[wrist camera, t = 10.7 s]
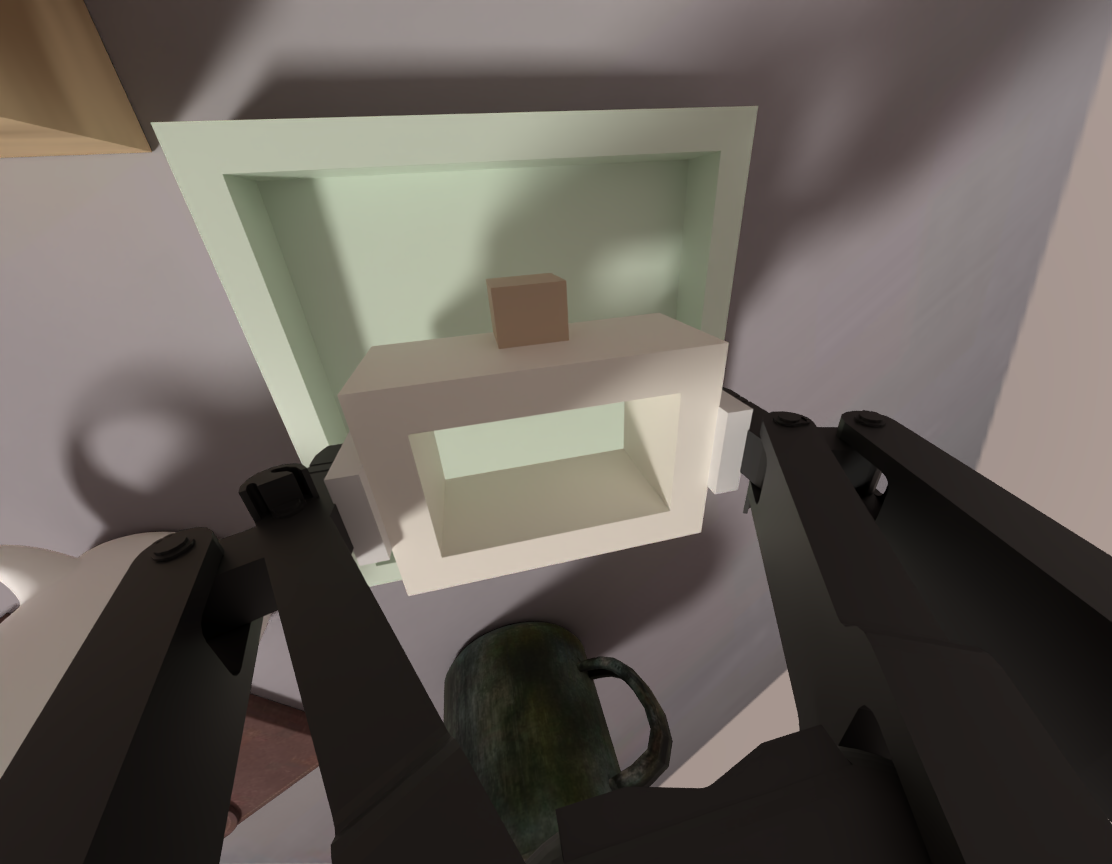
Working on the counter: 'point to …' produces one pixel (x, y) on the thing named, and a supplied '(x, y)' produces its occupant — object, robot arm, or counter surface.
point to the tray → (459, 244)
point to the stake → (60, 85)
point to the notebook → (267, 756)
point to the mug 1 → (53, 622)
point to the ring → (526, 390)
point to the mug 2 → (543, 726)
